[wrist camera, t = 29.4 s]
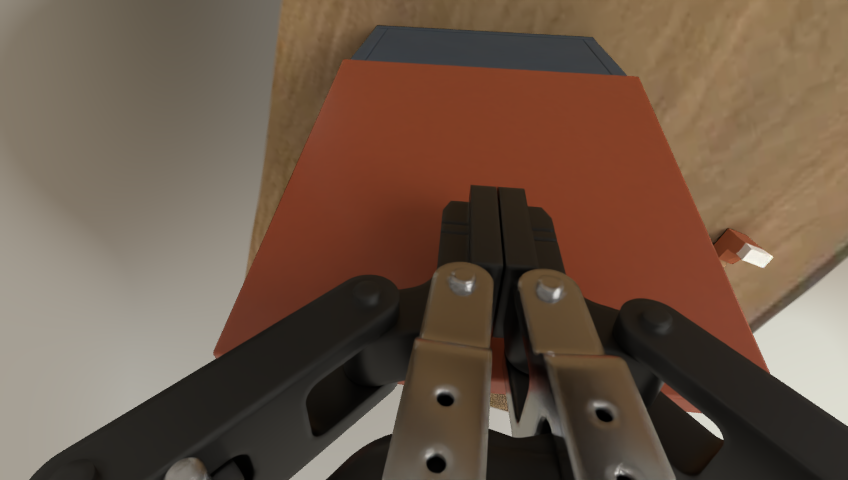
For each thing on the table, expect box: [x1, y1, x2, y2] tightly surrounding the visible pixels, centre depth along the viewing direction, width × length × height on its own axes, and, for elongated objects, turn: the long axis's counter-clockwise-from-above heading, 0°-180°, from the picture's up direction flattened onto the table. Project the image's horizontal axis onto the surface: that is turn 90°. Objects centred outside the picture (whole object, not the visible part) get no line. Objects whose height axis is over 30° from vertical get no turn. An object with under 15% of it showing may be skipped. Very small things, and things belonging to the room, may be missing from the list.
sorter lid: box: [213, 59, 770, 413], centre depth 16 cm, size 15×14×1 cm
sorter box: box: [350, 25, 627, 76], centre depth 29 cm, size 15×14×9 cm
